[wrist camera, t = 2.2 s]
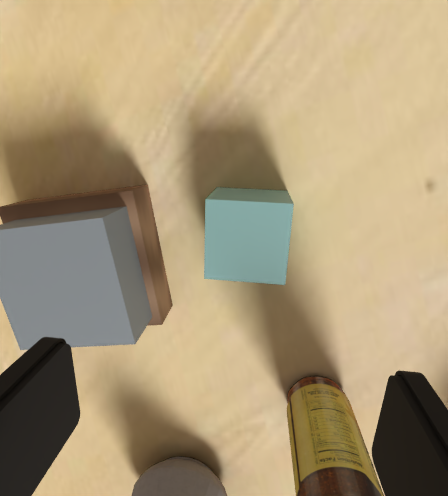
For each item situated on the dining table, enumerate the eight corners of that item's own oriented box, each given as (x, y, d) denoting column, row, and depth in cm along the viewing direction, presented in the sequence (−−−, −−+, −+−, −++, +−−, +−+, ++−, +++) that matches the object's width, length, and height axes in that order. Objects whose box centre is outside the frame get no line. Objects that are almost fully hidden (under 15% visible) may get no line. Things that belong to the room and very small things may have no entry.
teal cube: (217, 187, 28) (205, 199, 22) (287, 190, 27) (293, 203, 22) (215, 252, 30) (204, 278, 24) (280, 256, 29) (285, 284, 23)
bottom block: (30, 199, 31) (-3, 207, 27) (149, 183, 29) (132, 190, 25) (65, 310, 34) (41, 331, 30) (173, 303, 32) (161, 324, 29)
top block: (15, 219, 27) (-25, 232, 23) (126, 206, 25) (102, 217, 22) (51, 323, 30) (20, 349, 26) (152, 317, 28) (135, 344, 25)
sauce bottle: (328, 427, 35) (405, 768, 16) (275, 405, 34) (290, 722, 16) (360, 384, 32) (493, 719, 14) (303, 360, 32) (360, 665, 14)
